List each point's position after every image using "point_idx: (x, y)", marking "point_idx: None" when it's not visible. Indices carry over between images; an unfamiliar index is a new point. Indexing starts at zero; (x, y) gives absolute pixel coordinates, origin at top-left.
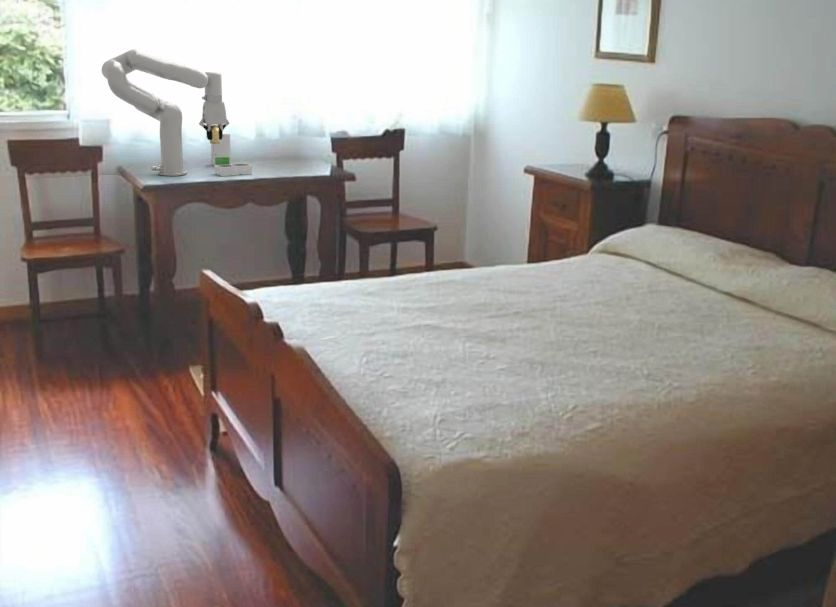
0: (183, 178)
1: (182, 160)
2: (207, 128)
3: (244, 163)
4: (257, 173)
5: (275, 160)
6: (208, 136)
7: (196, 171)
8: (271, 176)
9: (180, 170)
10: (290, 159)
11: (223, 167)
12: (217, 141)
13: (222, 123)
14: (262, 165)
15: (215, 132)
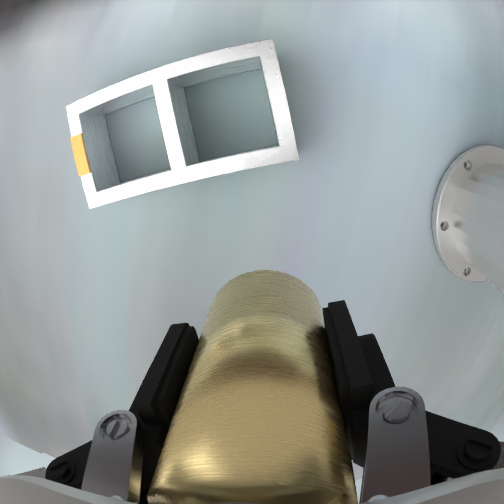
0: (468, 67)
1: (495, 205)
2: (422, 434)
3: (90, 199)
4: (66, 137)
5: (41, 410)
6: (369, 342)
7: (366, 269)
8: (36, 49)
9: (479, 172)
10: (14, 405)
11: (251, 43)
12: (240, 286)
13: (42, 489)
14: (54, 349)
15: (259, 367)
